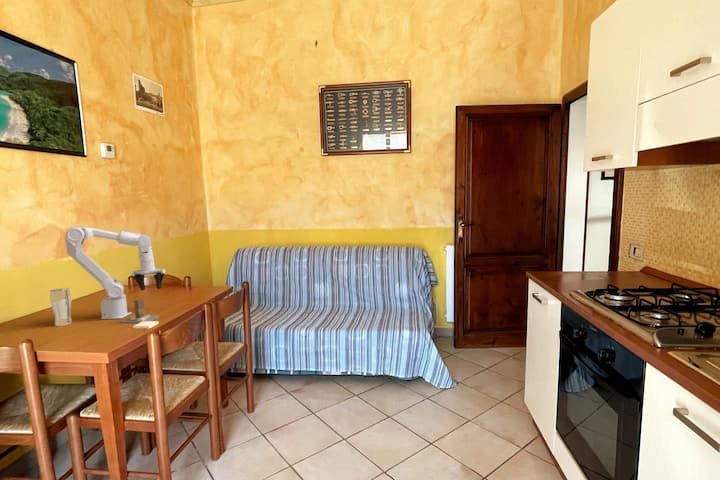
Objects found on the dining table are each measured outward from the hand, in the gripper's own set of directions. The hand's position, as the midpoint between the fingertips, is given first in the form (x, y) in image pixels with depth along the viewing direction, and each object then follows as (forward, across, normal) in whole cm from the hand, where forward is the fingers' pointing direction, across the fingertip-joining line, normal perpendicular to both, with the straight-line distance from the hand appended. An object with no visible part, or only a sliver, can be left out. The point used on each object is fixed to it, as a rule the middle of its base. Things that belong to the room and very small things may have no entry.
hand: (151, 289), depth 177 cm
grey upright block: (+10, +1, -14) cm, 17 cm away
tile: (+10, +5, -22) cm, 24 cm away
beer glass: (+9, -31, -16) cm, 36 cm away
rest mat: (+10, +1, -14) cm, 17 cm away
